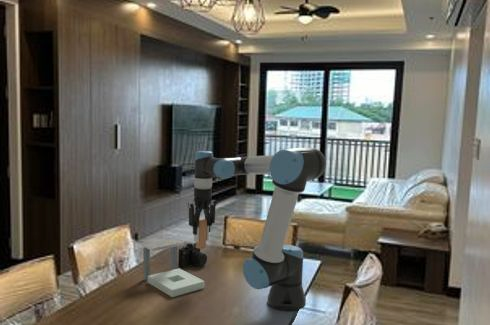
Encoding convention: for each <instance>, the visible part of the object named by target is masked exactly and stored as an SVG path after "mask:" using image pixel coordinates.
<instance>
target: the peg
mask: <svg viewBox="0 0 490 325" xmlns="http://www.w3.org/2000/svg"><path fill="white" fill-rule="evenodd" d="M198 227H199V242H198V243H197V242H195V243H196V248H198V249H200V250H203V249H206V248H207V240H206V234H207V220H206V219H205V218H199V223H198Z"/></svg>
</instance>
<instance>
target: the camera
mask: <svg viewBox="0 0 490 325" xmlns="http://www.w3.org/2000/svg"><path fill="white" fill-rule="evenodd" d="M207 261H208V256H207V254H206V253H204V252H201V249H198V248H196V242H195V243H191V242H189V243H187V244H186V245H182V247H181V248H179V249H178V254H177V268H180V269H183V268H186V267H188V266H199V267H204V266H205V265H206V264H207Z"/></svg>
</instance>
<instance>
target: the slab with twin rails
mask: <svg viewBox="0 0 490 325" xmlns="http://www.w3.org/2000/svg"><path fill="white" fill-rule="evenodd" d="M142 246H143V247H142V248H143V250H142V251H143V269H142V270H143V273H142V274H143V275H142V276H143V278H142V279H143V281H145V282H148V276H149V275H150V274H151V273H150V270H151V269H150V268H151V267H150V266H151V261H150V260H151V258H150V257H151V256H150V255H151V254H150V253H151V252H156V251H161V250H164V249H165V250H166V249H170V270H174V269H178V247H180V246H185V242H184V241H183V240H180V239H177V238H169V239H164V240H158V241H154V242H149V243H148V242H147V243H143V245H142Z"/></svg>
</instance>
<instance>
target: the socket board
mask: <svg viewBox="0 0 490 325" xmlns="http://www.w3.org/2000/svg"><path fill="white" fill-rule="evenodd" d="M147 283H148V284H149V285H151V286H153V287H154V288H156V289H157V290H160V291H161V292H163V293H164V294H166V295H168V296H169V297H171V298H175V297H178V296H181V295H185V294H189V293H193V292H196V291H199V290H203V289H205V283H206V282H205V281H204V279H201V278H199V277H197V276H195V275H193V274H191V273H190V272H187V271H185V270H183V268H179V267H177V269H174V270H171V269H170V270H166V271H163V272H162V271H161V272H158V273H154V274H151V275H149V276H148V281H147Z"/></svg>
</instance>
